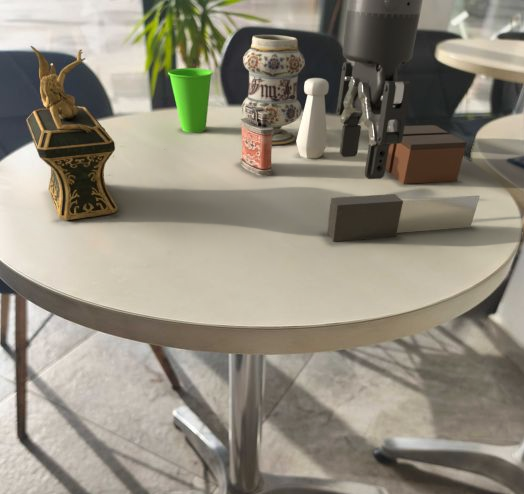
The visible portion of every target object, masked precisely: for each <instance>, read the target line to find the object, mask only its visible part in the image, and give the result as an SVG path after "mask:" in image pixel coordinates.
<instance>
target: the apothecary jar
mask: <svg viewBox="0 0 524 494" xmlns="http://www.w3.org/2000/svg"><path fill="white" fill-rule="evenodd" d="M298 43H299V42H298V39H297V38H296V37H294V36H288V35H280V34H279V35H278V34H255V35H252V39H251V45H250V48H249V49H248V50H247V51H246V52H245V53H244V55H243V57H242V63H243V67H244V68H245V69H246V70H247V71H248V92H247V96H246V97H245V99H244V100H243V102H242V104H241V113H242V115H243V116H244V118H249V116H250V115H249V114H247V113H245V106H246V105H247V104H250V105H253V106H255V107H256V108H257V107H263V109H264V111H265V112H267V113H268V120H267V124H269V125H271V126H272V127H273V133H272V146H277V145H287V144H290V143H292V142H294V141H295V135H294V134H293V133H291V132H289V131H287V130H285V129H284V128H282V127H284V126H288V125H290V124H293V123H295V122H296V121H297V120H298V119H299V118H300V116H301V115H302V111H303V110H302V105H301V102H300V101H299V100H298V99H297V95H298V91H297V90H298V79H299V73H301V71H302V70H304V67H305V65H306V64H305V63H306V62H305V61H306V60H305V58H304V54H303V53H301V52H300V50H299V47H298Z"/></svg>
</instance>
